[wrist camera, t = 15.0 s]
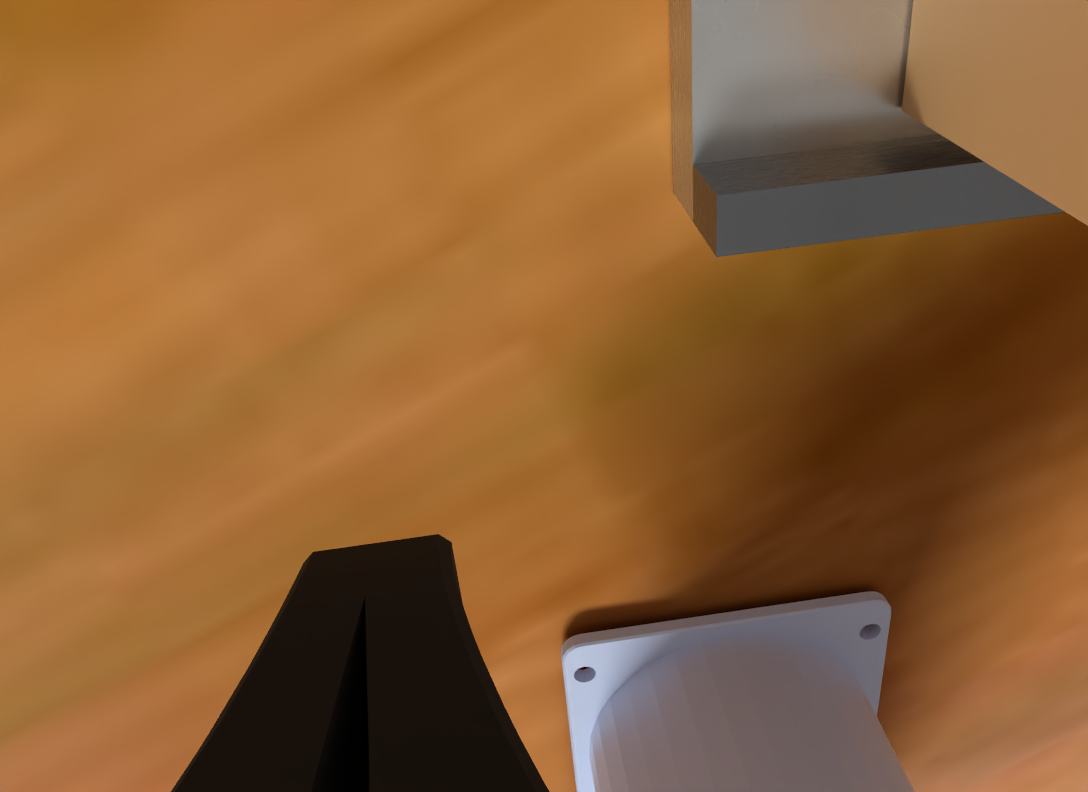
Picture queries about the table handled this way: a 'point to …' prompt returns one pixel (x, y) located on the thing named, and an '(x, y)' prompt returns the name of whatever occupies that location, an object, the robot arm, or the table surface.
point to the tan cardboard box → (1007, 88)
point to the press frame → (813, 129)
